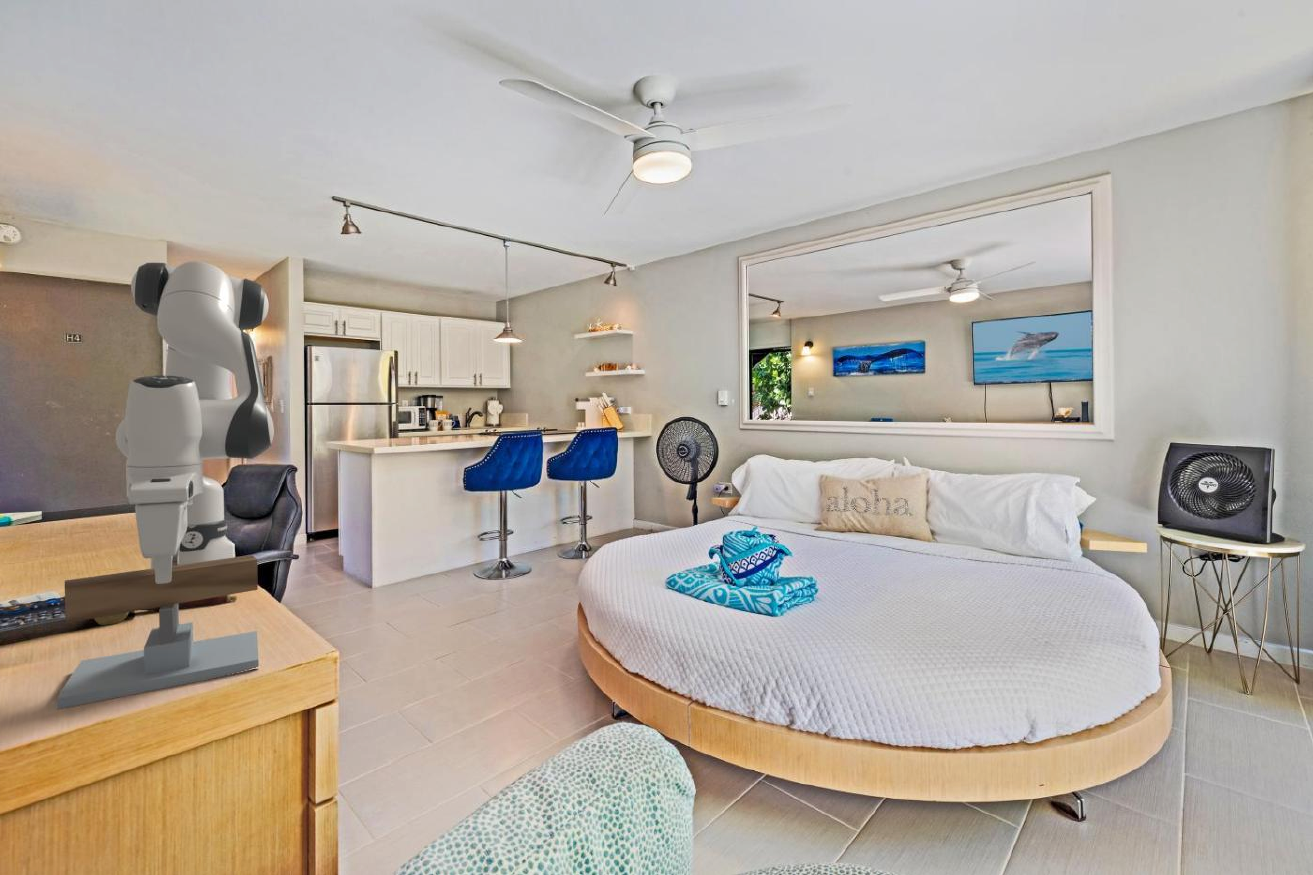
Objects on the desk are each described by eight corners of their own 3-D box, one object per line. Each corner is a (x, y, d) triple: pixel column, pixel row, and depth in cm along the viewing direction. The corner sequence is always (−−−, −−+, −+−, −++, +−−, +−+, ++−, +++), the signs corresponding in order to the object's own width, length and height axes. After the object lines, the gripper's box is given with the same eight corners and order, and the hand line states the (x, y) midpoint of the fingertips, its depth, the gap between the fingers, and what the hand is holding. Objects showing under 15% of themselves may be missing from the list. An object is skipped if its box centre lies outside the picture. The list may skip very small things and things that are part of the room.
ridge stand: (81, 670, 89) (79, 601, 88) (257, 639, 101) (256, 579, 101) (57, 709, 77) (54, 631, 77) (258, 669, 90) (257, 601, 89)
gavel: (240, 580, 126) (235, 593, 117) (238, 602, 126) (233, 616, 117) (110, 588, 115) (94, 602, 106) (108, 611, 115) (92, 627, 106)
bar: (65, 615, 82) (64, 580, 82) (252, 584, 98) (251, 554, 98) (65, 623, 80) (64, 586, 79) (257, 589, 95) (257, 559, 95)
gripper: (147, 477, 95) (149, 561, 95) (126, 493, 78) (128, 595, 79) (197, 475, 98) (198, 556, 99) (187, 490, 82) (188, 588, 82)
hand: (167, 574), depth 89 cm, fingers open, 8 cm apart
